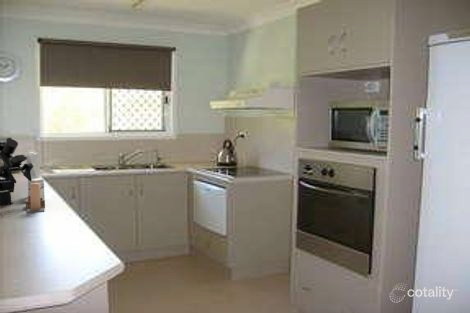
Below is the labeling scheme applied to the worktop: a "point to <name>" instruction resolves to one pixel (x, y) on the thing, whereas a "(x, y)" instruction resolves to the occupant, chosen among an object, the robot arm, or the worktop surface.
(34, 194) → the peg
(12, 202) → the robot arm
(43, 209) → the mat
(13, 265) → the worktop surface
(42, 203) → the socket block
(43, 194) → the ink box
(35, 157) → the skyscraper
